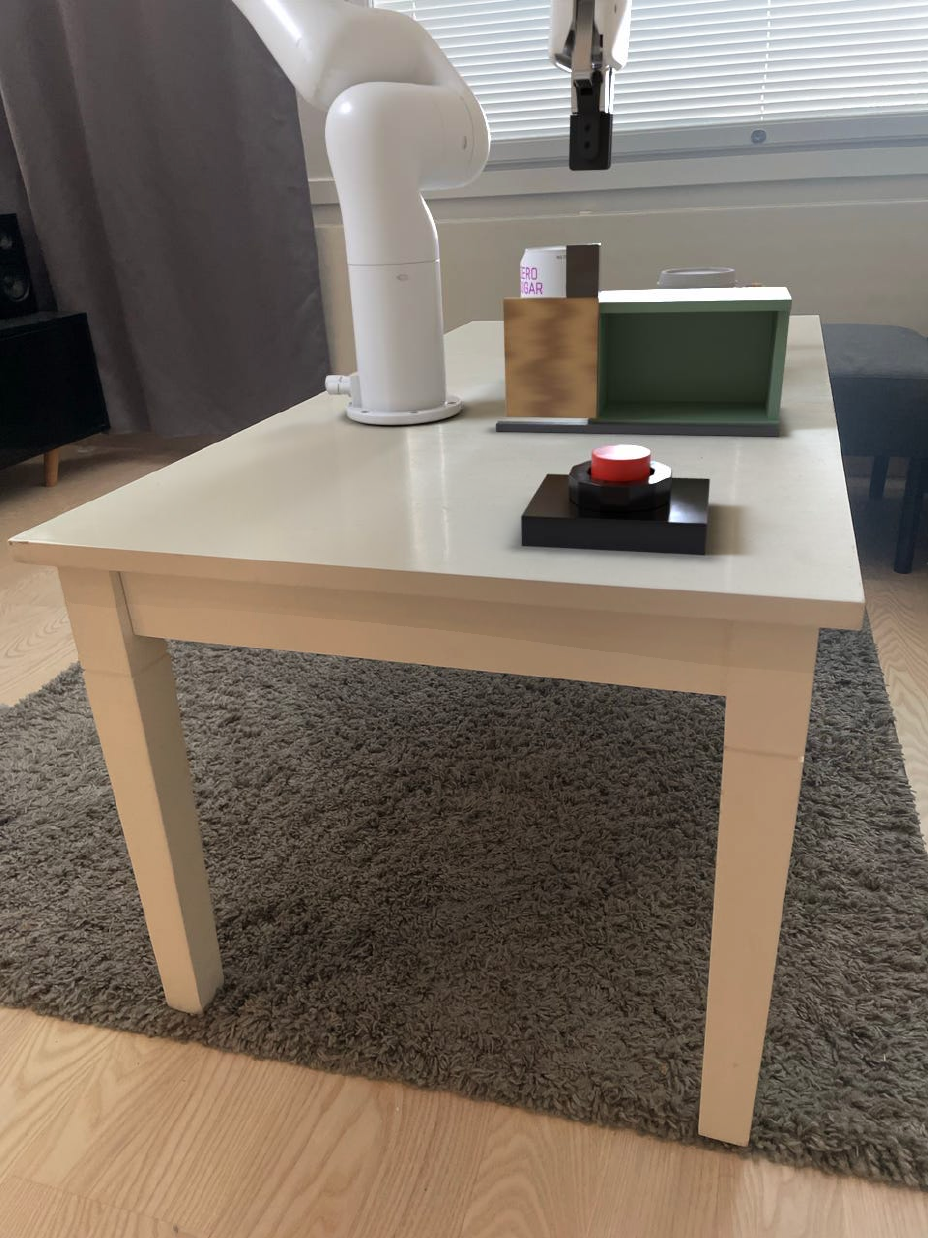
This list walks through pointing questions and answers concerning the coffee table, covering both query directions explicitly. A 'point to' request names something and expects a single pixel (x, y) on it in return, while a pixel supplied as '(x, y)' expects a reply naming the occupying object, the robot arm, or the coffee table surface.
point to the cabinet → (686, 363)
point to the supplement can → (543, 272)
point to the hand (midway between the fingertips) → (589, 169)
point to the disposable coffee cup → (697, 278)
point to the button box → (619, 513)
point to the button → (620, 463)
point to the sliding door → (556, 344)
